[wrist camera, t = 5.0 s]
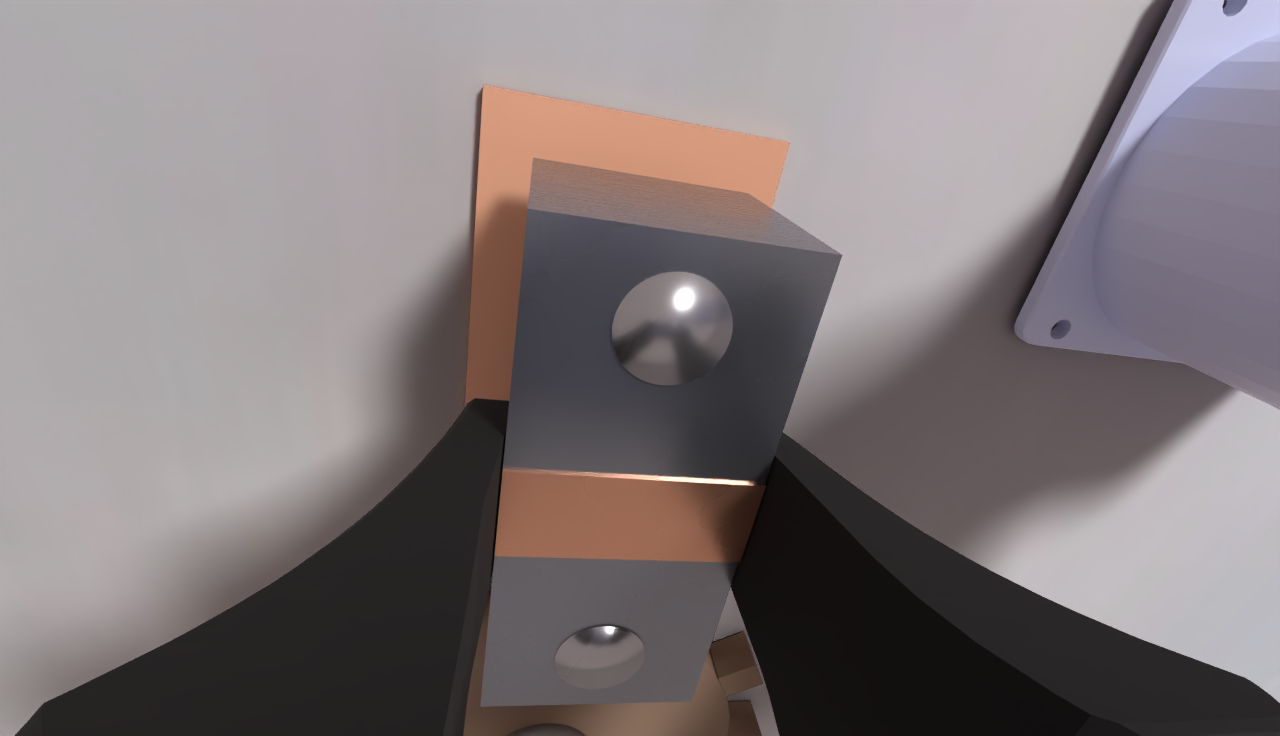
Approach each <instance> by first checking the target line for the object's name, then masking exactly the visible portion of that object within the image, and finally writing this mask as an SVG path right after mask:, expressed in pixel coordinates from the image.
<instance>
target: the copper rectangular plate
mask: <svg viewBox="0 0 1280 736" xmlns="http://www.w3.org/2000/svg"><path fill="white" fill-rule="evenodd" d="M789 144H790V143H788V142H785V141H779V140H774V139H769V138H763V137H758V136H753V135H747V134H742V133H737V132H731V131H726V130H721V129H715V128H710V127H705V126H699V125H694V124H689V123H683V122H678V121H673V120H668V119H662V118H657V117H652V116H646V115H641V114H636V113H630V112H625V111H620V110H614V109H609V108H604V107H598V106H593V105H588V104H582V103H577V102H572V101H566V100H561V99H556V98H550V97H545V96H540V95H534V94H529V93H524V92H519V91H513V90H508V89H503V88H497V87H492V86H487V85H483V95H482V112H481V130H480V147H479V165H478V182H477V199H476V217H475V234H474V252H473V269H472V286H471V304H470V321H469V339H468V356H467V374H466V391H465V407H466V405H467V403H469V402H470V401H471V400H473V399H474V398H481V399H493V400H505V401H509V399H510V388H511V378H512V367H513V357H514V346H515V336H516V325H517V315H518V304H519V294H520V283H521V273H522V262H523V252H524V241H525V231H526V220H527V210H528V200H529V191H530V182H531V172H532V163H533V158H539V159H545V160H552V161H558V162H564V163H570V164H576V165H582V166H588V167H594V168H600V169H606V170H612V171H618V172H624V173H630V174H636V175H642V176H648V177H654V178H660V179H666V180H672V181H678V182H684V183H690V184H696V185H702V186H708V187H714V188H720V189H726V190H732V191H738V192H744V193H749V194H750V195H752V196H753V197H755V198H756V199H758V200H759V201H761V202H762V203H764V204H765V205H767V206H768V207H770V208H771V209H772V206H773V202H774V199H775V195H776V191H777V188H778V184H779V180H780V177H781V173H782V170H783V166H784V162H785V159H786V155H787V151H788V148H789Z"/></svg>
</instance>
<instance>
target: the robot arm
mask: <svg viewBox="0 0 1280 736" xmlns="http://www.w3.org/2000/svg"><path fill="white" fill-rule="evenodd" d="M1223 3H1224V0H1174V1H1173V3H1172V5H1171V7H1170V9H1169V11H1168V13H1167V15H1166V17H1165V19H1164V21H1163V23H1162V25H1161V27H1160V30H1159V32H1158V34H1157V36H1156V38H1155V40H1154V42H1153V44H1152V46H1151V48H1150V50H1149V52H1148V54H1147V56H1146V58H1145V60H1144V62H1143V64H1142V66H1141V68H1140V70H1139V72H1138V74H1137V76H1136V78H1135V80H1134V82H1133V84H1132V86H1131V88H1130V90H1129V92H1128V94H1127V96H1126V98H1125V101H1124V103H1123V105H1122V107H1121V109H1120V111H1119V113H1118V115H1117V117H1116V119H1115V121H1114V123H1113V125H1112V127H1111V129H1110V131H1109V133H1108V135H1107V137H1106V139H1105V141H1104V143H1103V145H1102V147H1101V149H1100V151H1099V153H1098V155H1097V157H1096V159H1095V161H1094V163H1093V165H1092V167H1091V169H1090V172H1089V174H1088V176H1087V178H1086V180H1085V182H1084V184H1083V186H1082V188H1081V190H1080V192H1079V194H1078V196H1077V198H1076V200H1075V202H1074V204H1073V206H1072V208H1071V210H1070V212H1069V214H1068V216H1067V218H1066V220H1065V222H1064V224H1063V226H1062V228H1061V230H1060V232H1059V234H1058V236H1057V238H1056V240H1055V243H1054V245H1053V247H1052V249H1051V251H1050V253H1049V255H1048V257H1047V259H1046V261H1045V263H1044V265H1043V267H1042V269H1041V271H1040V273H1039V275H1038V277H1037V279H1036V281H1035V283H1034V285H1033V287H1032V289H1031V291H1030V293H1029V295H1028V297H1027V299H1026V301H1025V303H1024V305H1023V307H1022V309H1021V311H1020V314H1019V316H1018V318H1017V320H1016V323H1015V326H1014V328H1015V334H1016V335H1017V336H1018V338H1020V339H1021V340H1023V341H1025V342H1027V343H1029V344H1032V345H1037V346H1045V347H1053V348H1062V349H1070V350H1078V351H1086V352H1094V353H1103V354H1111V355H1119V356H1127V357H1136V358H1144V359H1152V360H1160V361H1168V362H1177V363H1183V364H1185V365H1188V366H1190V367H1192V368H1194V369H1196V370H1198V371H1200V372H1202V373H1204V374H1206V375H1209V376H1211V377H1213V378H1215V379H1217V380H1219V381H1221V382H1223V383H1225V384H1228V385H1230V386H1232V387H1234V388H1236V389H1238V390H1240V391H1242V392H1244V393H1246V394H1249V395H1251V396H1253V397H1255V398H1257V399H1259V400H1261V401H1263V402H1265V403H1267V404H1270V405H1272V406H1274V407H1276V408H1278V409H1280V0H1227V3H1226V6H1225V7H1224V8H1223V7H1222V6H1223ZM1057 322H1058V324H1057V326H1056V327H1055V328H1054V329H1053V330H1051V329H1052V327H1053V326H1054V325H1055V324H1056V323H1057ZM508 409H509V401H505V400H493V399H481V398H474V399H473V400H471V401H470V402H469V403H467V405H466V407H465V408H464V410H463V411H462V413H461V414H460V416H459V417H458V419H457V420H456V421H455V423H454V424H453V425H452V427H451V428H450V429H449V430H448V432H447V433H446V434H445V435H444V437H443V438H442V439H441V440H440V441H439V443H438V444H437V445H436V446H435V447H434V448H433V449H432V450H431V452H430V453H429V454H428V455H427V456H426V457H425V458H424V459H423V461H422V462H421V463H420V464H419V465H418V466H417V467H416V468H415V469H414V470H413V471H412V472H411V473H410V474H409V475H408V476H407V477H406V478H405V479H404V480H403V481H402V482H401V483H400V484H399V485H398V486H397V487H396V488H395V489H394V490H393V491H392V492H391V493H389V494H388V495H387V496H386V497H385V498H384V499H383V500H382V501H381V502H380V503H379V504H377V505H376V506H375V507H374V508H373V509H372V510H371V511H369V512H368V513H367V514H366V515H365V516H363V517H362V518H361V519H360V520H359V521H357V522H356V523H355V524H354V525H352V526H351V527H350V528H349V529H347V530H346V531H345V532H344V533H342V534H341V535H340V536H339V537H337V538H336V539H335V540H333V541H332V542H331V543H329V544H328V545H326V546H325V547H324V548H322V549H321V550H319V551H318V552H317V553H315V554H314V555H312V556H311V557H310V558H308V559H307V560H306V561H304V562H303V563H301V564H300V565H299V566H297V567H296V568H294V569H293V570H291V571H290V572H288V573H287V574H285V575H284V576H282V577H281V578H279V579H278V580H276V581H275V582H273V583H272V584H270V585H268V586H267V587H265V588H263V589H262V590H260V591H258V592H257V593H255V594H253V595H252V596H250V597H248V598H247V599H245V600H243V601H242V602H240V603H238V604H237V605H235V606H233V607H232V608H230V609H228V610H226V611H224V612H223V613H221V614H219V615H217V616H216V617H214V618H212V619H210V620H208V621H207V622H205V623H203V624H201V625H200V626H198V627H196V628H194V629H192V630H190V631H189V632H187V633H185V634H183V635H181V636H179V637H177V638H176V639H174V640H172V641H170V642H168V643H166V644H164V645H162V646H160V647H158V648H156V649H154V650H152V651H150V652H148V653H146V654H144V655H142V656H140V657H138V658H136V659H134V660H132V661H130V662H128V663H126V664H124V665H122V666H120V667H118V668H116V669H114V670H112V671H109V672H107V673H105V674H103V675H101V676H99V677H97V678H95V679H93V680H91V681H89V682H87V683H85V684H83V685H81V686H79V687H77V688H75V689H73V690H71V691H69V692H67V693H64V694H62V695H60V696H58V697H56V698H54V699H51V700H49V701H47V702H45V703H44V704H43V705H42V706H41V707H40V708H39V709H38V710H37V711H36V713H35V714H34V715H33V716H32V717H31V718H30V720H29V721H28V722H27V723H26V724H25V725H24V726H23V727H22V728H21V729H20V730H19V732H18V733H17V734H16V735H15V736H463V733H464V724H465V716H466V707H467V699H468V693H469V686H470V680H471V674H472V669H473V664H474V659H475V654H476V649H477V644H478V639H479V634H480V630H481V625H482V620H483V615H484V610H485V605H486V600H487V595H488V591H489V586H490V581H491V576H492V571H493V566H494V556H495V546H496V535H497V525H498V514H499V504H500V493H501V483H502V472H503V462H504V451H505V441H506V430H507V420H508ZM765 485H766V488H765V491H764V494H763V497H762V500H761V503H760V505H759V508H758V511H757V514H756V517H755V520H754V523H753V526H752V529H751V532H750V535H749V538H748V541H747V544H746V547H745V550H744V553H743V556H742V559H741V562H740V563H738V566H737V569H736V572H735V575H734V578H733V580H732V583H731V589H732V591H733V594H734V597H735V600H736V602H737V605H738V608H739V611H740V613H741V616H742V619H743V621H744V624H745V627H746V630H747V632H748V635H749V638H750V640H751V643H752V646H753V649H754V651H755V654H756V657H757V659H758V662H759V665H760V668H761V671H762V674H763V677H764V680H765V683H766V687H767V690H768V693H769V696H770V700H771V704H772V708H773V712H774V716H775V720H776V724H777V728H778V732H779V735H780V736H1280V703H1279V702H1278V701H1276V700H1275V699H1274V698H1273V697H1272V696H1271V695H1269V694H1268V693H1267V692H1265V691H1264V690H1263V689H1261V688H1260V687H1259V686H1257V685H1256V684H1254V683H1253V682H1251V681H1250V680H1248V679H1246V678H1244V677H1241V676H1239V675H1236V674H1233V673H1231V672H1228V671H1225V670H1222V669H1220V668H1217V667H1214V666H1212V665H1209V664H1206V663H1203V662H1201V661H1198V660H1195V659H1193V658H1190V657H1187V656H1184V655H1182V654H1179V653H1176V652H1174V651H1171V650H1168V649H1166V648H1163V647H1160V646H1157V645H1155V644H1152V643H1149V642H1147V641H1144V640H1141V639H1139V638H1136V637H1134V636H1131V635H1129V634H1127V633H1124V632H1122V631H1120V630H1117V629H1115V628H1112V627H1110V626H1108V625H1105V624H1103V623H1101V622H1098V621H1096V620H1094V619H1091V618H1089V617H1087V616H1084V615H1082V614H1080V613H1077V612H1075V611H1073V610H1071V609H1068V608H1066V607H1064V606H1062V605H1060V604H1057V603H1055V602H1053V601H1051V600H1049V599H1047V598H1044V597H1042V596H1040V595H1038V594H1036V593H1034V592H1032V591H1030V590H1028V589H1026V588H1024V587H1022V586H1020V585H1018V584H1016V583H1014V582H1012V581H1010V580H1008V579H1006V578H1004V577H1002V576H1000V575H998V574H996V573H994V572H992V571H990V570H988V569H987V568H985V567H983V566H981V565H979V564H977V563H975V562H974V561H972V560H970V559H968V558H966V557H965V556H963V555H961V554H959V553H958V552H956V551H954V550H953V549H951V548H949V547H947V546H946V545H944V544H942V543H941V542H939V541H937V540H935V539H934V538H932V537H930V536H929V535H927V534H925V533H924V532H922V531H920V530H919V529H917V528H916V527H914V526H913V525H911V524H909V523H908V522H906V521H905V520H903V519H902V518H900V517H899V516H897V515H896V514H894V513H893V512H891V511H890V510H888V509H887V508H885V507H884V506H883V505H881V504H880V503H878V502H877V501H875V500H874V499H872V498H871V497H869V496H868V495H867V494H865V493H864V492H862V491H861V490H860V489H858V488H857V487H855V486H854V485H853V484H851V483H850V482H849V481H847V480H846V479H845V478H843V477H842V476H841V475H839V474H838V473H836V472H835V471H834V470H832V469H831V468H830V467H828V466H827V465H826V464H825V463H823V462H822V461H821V460H819V459H818V458H817V457H815V456H814V455H813V454H811V453H810V452H809V451H807V450H806V449H805V448H803V447H802V446H801V445H799V444H798V443H797V442H795V441H794V440H793V439H791V438H790V437H788V436H787V435H786V434H784V433H783V432H782V435H781V438H780V441H779V444H778V447H777V450H776V453H775V456H774V459H773V462H772V465H771V468H770V471H769V474H768V477H767V480H766V483H765Z"/></svg>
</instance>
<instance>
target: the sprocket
mask: <svg viewBox="0 0 1280 736" xmlns="http://www.w3.org/2000/svg"><path fill="white" fill-rule="evenodd" d="M490 598H491V592H488V595H487V600H486V605H485V610H484V615H483V620H482V625H481V630H480V634H479V639H478V644H477V649H476V654H475V659H474V664H473V669H472V674H471V680H470V686H469V693H468V699H467V707H466V716H465V724H464V733H463V736H762V735H761V732H760V729H759V726H758V722H757V719H756V716H755V713H754V710H753V707H752V704H751V701H733V702H728V701H727V698H726V696H730V695H733V694H736V693H738V692H741V691H744V690H747V689H749V688H752V687H755V686H758V685H760V684H763V682H762V679H761V676H760V673H759V670H758V667H757V665H756V662H755V659H754V656H753V653H752V650H751V648H750V645H749V643H748V641H747V638H746V636H745V633H744V631H743V632H741V633H738V634H735V635H733V636H730V637H727V638H724V639H722V640H719V641H716V642H714V643H711V646H710V649H709V652H708V655H707V658H706V661H705V664H704V666H703V669H702V672H701V675H700V678H699V681H698V684H697V687H696V690H695V693H694V696H693V699H692V702H654V703H612V704H571V705H530V706H489V707H480V703H481V693H482V682H483V672H484V661H485V651H486V640H487V630H488V619H489V609H490Z"/></svg>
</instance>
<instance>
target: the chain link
mask: <svg viewBox="0 0 1280 736" xmlns="http://www.w3.org/2000/svg"><path fill="white" fill-rule="evenodd" d="M841 257H842V255H841V254H840V253H838V252H837V251H835V250H834V249H832V248H831V247H829V246H828V245H826V244H825V243H823V242H822V241H820V240H819V239H817V238H816V237H814V236H813V235H811V234H809V233H808V232H806V231H805V230H803V229H802V228H800V227H799V226H797V225H796V224H794V223H793V222H791V221H790V220H788V219H787V218H785V217H784V216H782V215H781V214H779V213H778V212H776V211H775V210H773V209H771V208H770V207H768V206H767V205H765V204H764V203H762V202H761V201H759V200H758V199H756V198H755V197H753V196H752V195H750V194H749V193H744V192H738V191H732V190H726V189H720V188H714V187H708V186H702V185H696V184H690V183H684V182H678V181H672V180H666V179H660V178H654V177H648V176H642V175H636V174H630V173H624V172H618V171H612V170H606V169H600V168H594V167H588V166H582V165H576V164H570V163H564V162H558V161H552V160H545V159H539V158H533V163H532V172H531V182H530V191H529V200H528V210H527V220H526V231H525V241H524V252H523V262H522V273H521V283H520V294H519V304H518V315H517V325H516V336H515V346H514V357H513V367H512V378H511V388H510V399H509V409H508V420H507V430H506V441H505V451H504V462H503V472H502V483H501V493H500V504H499V514H498V525H497V535H496V546H495V556H494V567H493V577H492V588H491V598H490V609H489V619H488V630H487V640H486V651H485V661H484V672H483V682H482V693H481V703H480V707H489V706H530V705H571V704H612V703H654V702H692V699H693V696H694V693H695V690H696V687H697V684H698V681H699V678H700V675H701V672H702V669H703V666H704V664H705V661H706V658H707V655H708V652H709V649H710V646H711V643H712V640H713V637H714V634H715V631H716V628H717V625H718V622H719V619H720V616H721V613H722V610H723V607H724V604H725V601H726V598H727V595H728V592H729V589H730V586H731V583H732V580H733V578H734V575H735V572H736V569H737V566H738V563H740V562H741V559H742V556H743V553H744V550H745V547H746V544H747V541H748V538H749V535H750V532H751V529H752V526H753V523H754V520H755V517H756V514H757V511H758V508H759V505H760V503H761V500H762V497H763V494H764V491H765V488H766V485H765V483H766V480H767V477H768V474H769V471H770V468H771V465H772V462H773V459H774V456H775V453H776V450H777V447H778V444H779V441H780V438H781V435H782V432H783V429H784V426H785V423H786V420H787V417H788V414H789V411H790V408H791V406H792V403H793V400H794V397H795V394H796V391H797V388H798V385H799V382H800V379H801V376H802V373H803V370H804V367H805V364H806V361H807V358H808V355H809V352H810V349H811V346H812V343H813V340H814V337H815V334H816V331H817V328H818V325H819V322H820V320H821V317H822V314H823V311H824V308H825V305H826V302H827V299H828V296H829V293H830V290H831V287H832V284H833V281H834V278H835V275H836V272H837V269H838V266H839V263H840V260H841Z"/></svg>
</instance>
